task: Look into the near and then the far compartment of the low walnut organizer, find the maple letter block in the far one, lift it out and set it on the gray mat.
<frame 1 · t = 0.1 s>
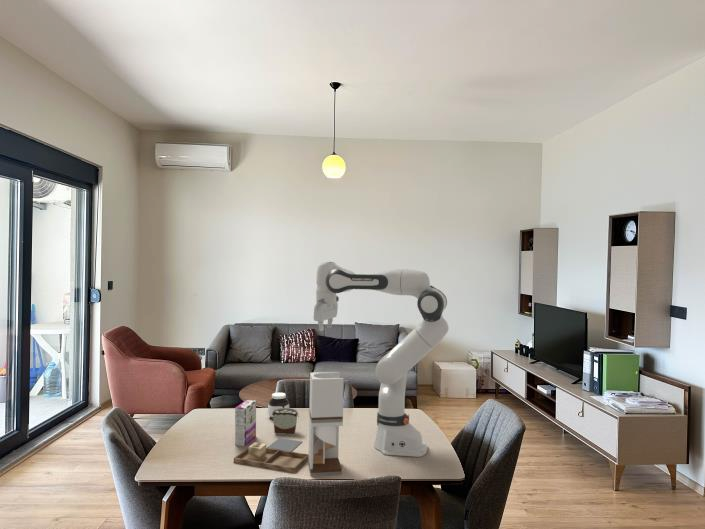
hand: (325, 329, 201), 48 cm above the table, tool pointing down, fingers open, 8 cm apart
food container: (286, 432, 206), on the table
walnut organizer: (271, 461, 174), on the table
candy bar box: (245, 442, 194), on the table
maple block: (257, 458, 176), resting on walnut organizer
gray mat: (284, 446, 189), on the table
display case: (324, 469, 169), on the table
spread jar: (278, 416, 227), on the table
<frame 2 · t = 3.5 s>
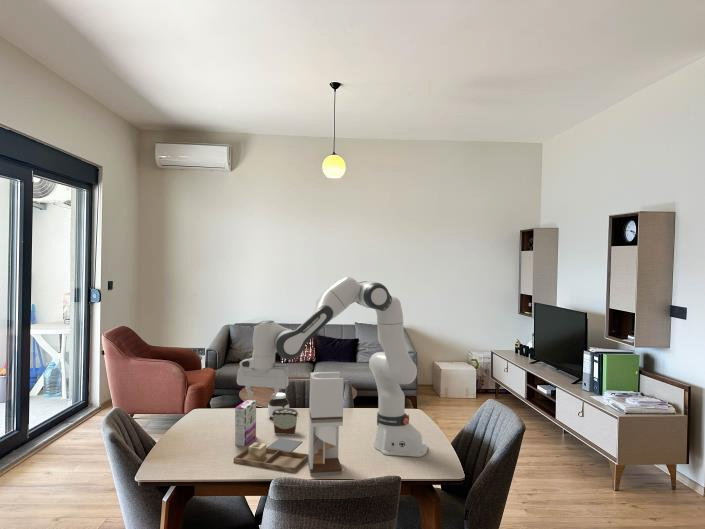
hand: (261, 398, 175), 24 cm above the table, tool pointing down, fingers open, 8 cm apart
nothing on the table moved.
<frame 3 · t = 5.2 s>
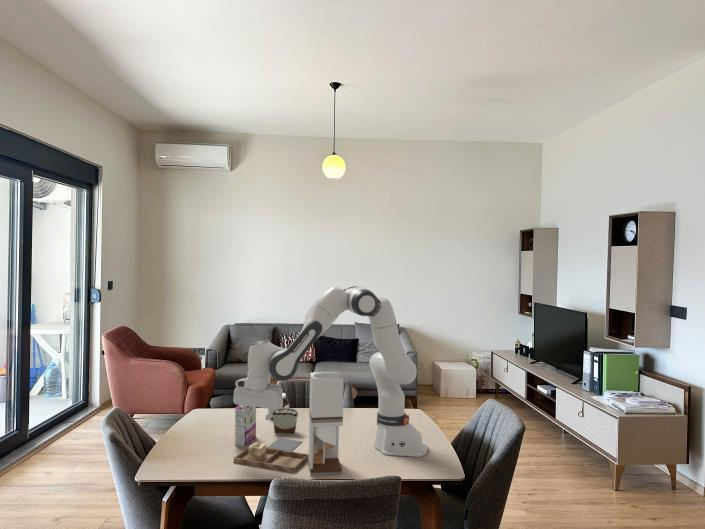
hand: (257, 417, 176), 16 cm above the table, tool pointing down, fingers open, 8 cm apart
nothing on the table moved.
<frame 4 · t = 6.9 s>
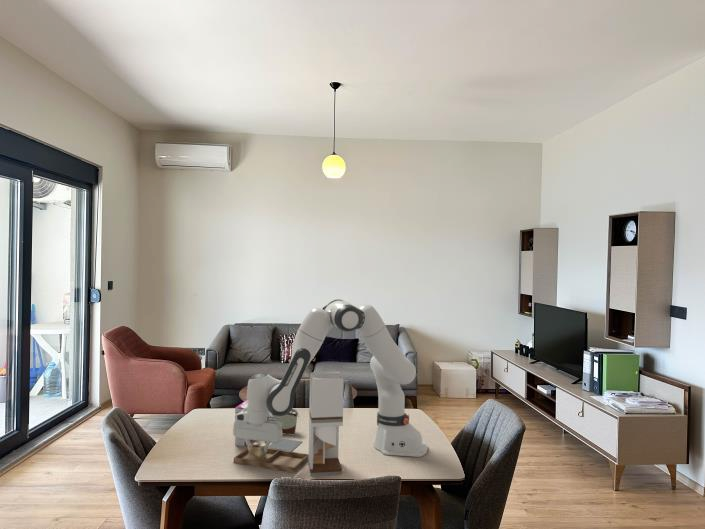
hand: (257, 450, 176), 3 cm above the table, tool pointing down, fingers closed on maple block, 5 cm apart
maple block: (257, 458, 176), point 1 cm above the table, touching gripper, walnut organizer
everything else where it was.
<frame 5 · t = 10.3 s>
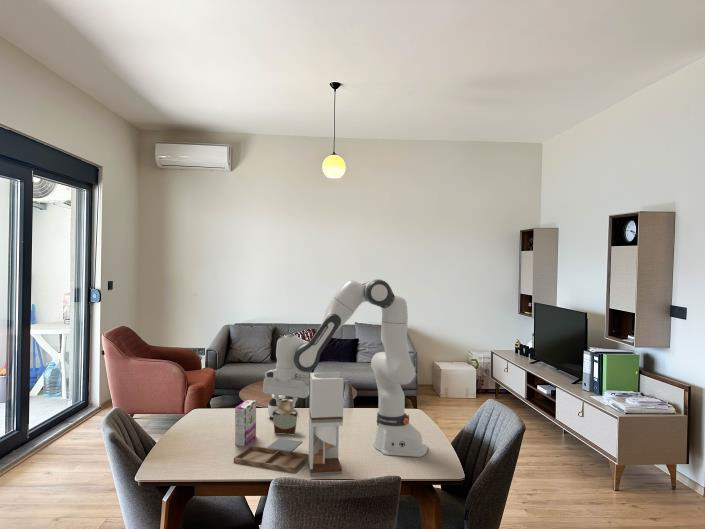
hand: (285, 406, 190), 17 cm above the table, tool pointing down, fingers closed on maple block, 5 cm apart
maple block: (285, 412, 190), point 14 cm above the table, touching gripper
everything else where it was.
when the fingers open (5 cm above the table, at t = 13.3 s): maple block drops 1 cm, resting on gray mat.
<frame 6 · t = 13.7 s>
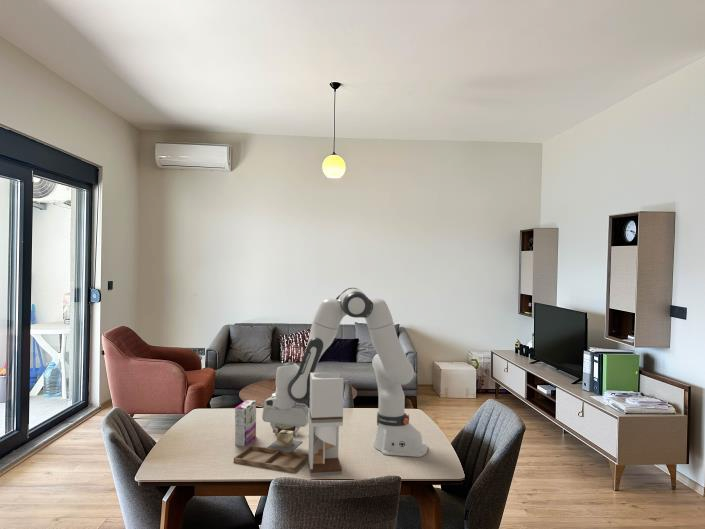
hand: (285, 434, 190), 5 cm above the table, tool pointing down, fingers open, 8 cm apart
maple block: (285, 444, 189), point 1 cm above the table, touching gray mat
everything else where it was.
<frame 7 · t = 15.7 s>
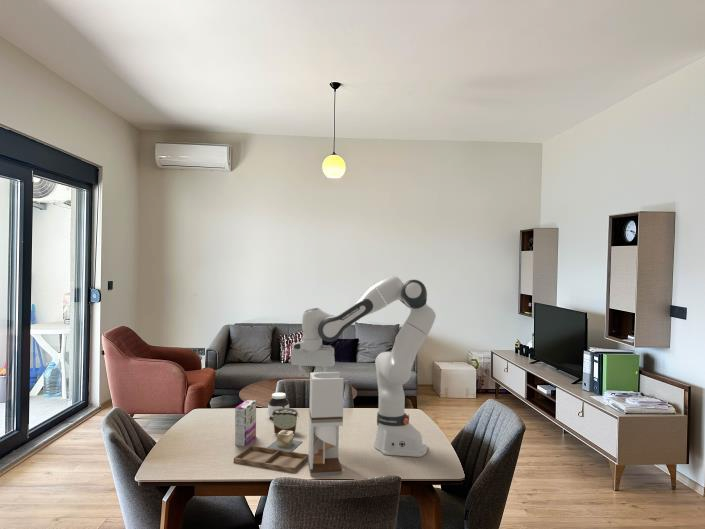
hand: (312, 375, 201), 27 cm above the table, tool pointing down, fingers open, 8 cm apart
nothing on the table moved.
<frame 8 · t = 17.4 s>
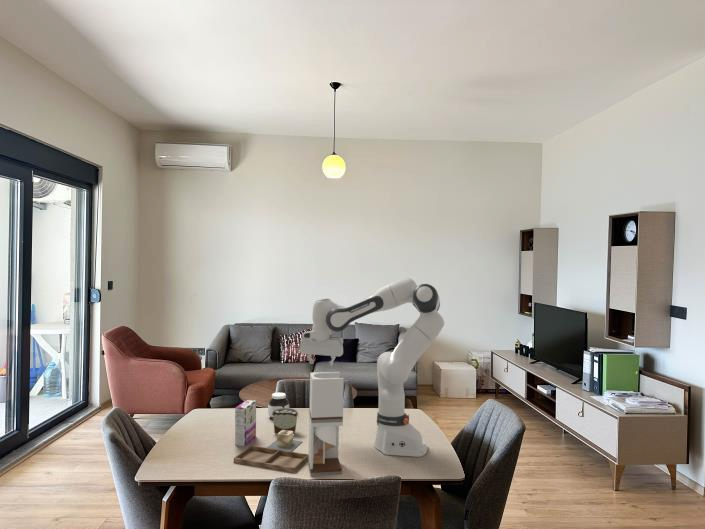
hand: (321, 364, 206), 31 cm above the table, tool pointing down, fingers open, 8 cm apart
nothing on the table moved.
at the end: maple block inside the target area on the gray mat (0.1 cm from its centre), point 0.8 cm above the gray mat's base; maple block touching gray mat; the gripper is holding nothing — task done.
